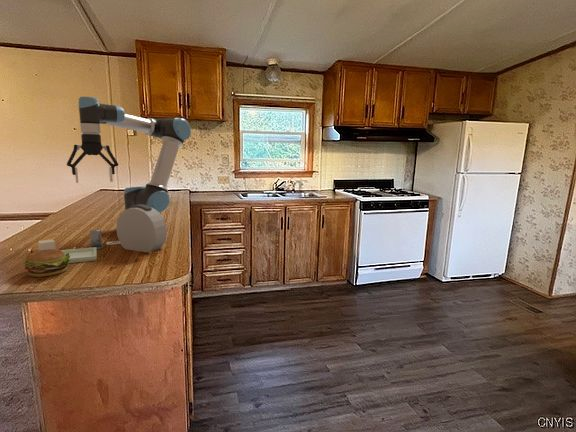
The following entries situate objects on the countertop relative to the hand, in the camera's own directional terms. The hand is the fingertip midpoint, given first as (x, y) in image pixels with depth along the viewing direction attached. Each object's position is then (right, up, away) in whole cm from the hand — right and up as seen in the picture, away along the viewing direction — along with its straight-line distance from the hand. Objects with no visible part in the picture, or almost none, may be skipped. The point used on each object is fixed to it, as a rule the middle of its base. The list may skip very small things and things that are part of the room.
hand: (94, 182), depth 157 cm
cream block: (-13, -31, -11) cm, 36 cm away
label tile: (+6, -28, +5) cm, 29 cm away
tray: (+2, -32, -17) cm, 36 cm away
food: (+2, -36, -33) cm, 49 cm away
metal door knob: (+3, -30, -3) cm, 30 cm away
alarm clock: (+22, -30, -1) cm, 37 cm away
